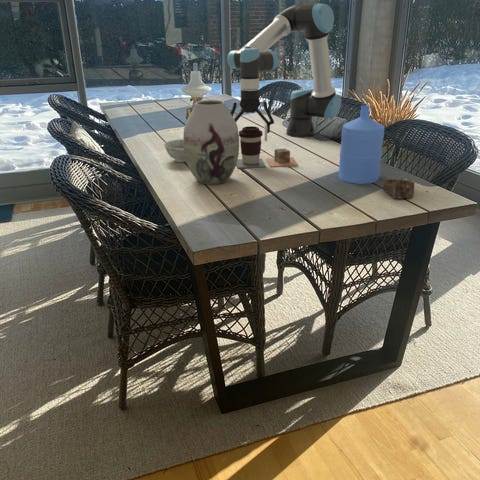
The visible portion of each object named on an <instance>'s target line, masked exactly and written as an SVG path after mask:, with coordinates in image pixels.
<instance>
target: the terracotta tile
mask: <svg viewBox="0 0 480 480" xmlns="http://www.w3.org/2000/svg"><path fill="white" fill-rule="evenodd" d="M266 162H267V164H268V166H269V167H270V168H282V167H283V168H284V167H285V168H286V167H299V163H298V162H297V161H296V160H295V158H294V157H291V156H290V163H281V164H279V163H277V162H276V161H274V157H268V158H266Z"/></svg>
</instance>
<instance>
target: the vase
mask: <svg viewBox="0 0 480 480" xmlns="http://www.w3.org/2000/svg"><path fill="white" fill-rule="evenodd" d="M230 112H231V111H230V110H229V109H228V106H227V104H226V102H225V101H224V100H221V99H203V100H202V99H201V100H197V101H195V102H194V105H193V108H192V111H191V112H190V114H189V116H188V117H187V119H186V121H185V123H184V126H183V127H184V128H183V138H182V139H183V145H184V153H185V158H186V161H187V162H186V164H187V167H188V169H189V170H190V171H189V172H190V173H191V175H192V176H193V177H194V178H195V180H197V181H198V183H201V184H203V185H208V186H209V185H211V186H213V185H215V186H216V185H220V184H223V183H226V182H227V181H228V180H229V179H230V177H231V176H232V175H233V173H234V170H235V169H236V168H237V166H236V164H237V160H238V159H239V153H240V136H239V129H238V124H237V122H236V121H235V119H234V118H235V117H233V116H234V115H233V116H232V115H231V113H230Z"/></svg>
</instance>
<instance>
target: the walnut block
mask: <svg viewBox="0 0 480 480" xmlns="http://www.w3.org/2000/svg"><path fill="white" fill-rule="evenodd" d="M290 157H291V151H290V150H289V149H287V148H276V149H274V157H273V158H274V161H276V162H277V163H279V164H281V163H290Z"/></svg>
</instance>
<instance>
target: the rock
mask: <svg viewBox="0 0 480 480" xmlns="http://www.w3.org/2000/svg"><path fill="white" fill-rule="evenodd" d="M382 189H383V191H385V192H386V193H388V194H390V196H392V197H393V199H398V200H399V199H400V200H401V199H412V198H413V197H414V194H415V182H414V181H413V180H408V179H394V178H392V179H384V183H383V187H382Z"/></svg>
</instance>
